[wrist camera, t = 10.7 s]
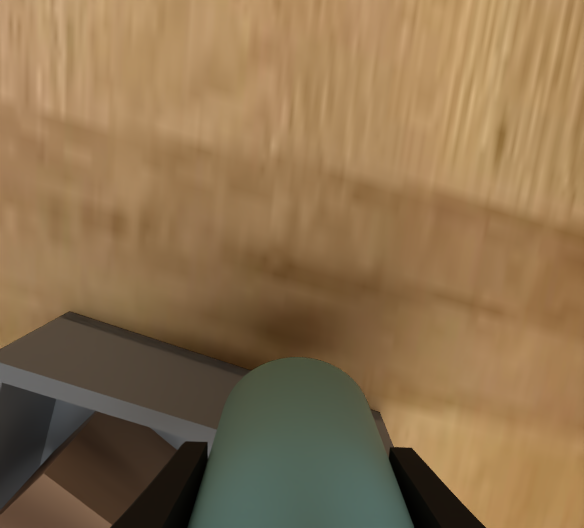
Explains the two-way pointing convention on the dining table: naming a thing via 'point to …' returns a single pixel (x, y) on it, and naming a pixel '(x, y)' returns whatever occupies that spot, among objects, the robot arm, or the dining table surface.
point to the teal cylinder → (298, 455)
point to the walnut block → (90, 476)
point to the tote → (105, 391)
